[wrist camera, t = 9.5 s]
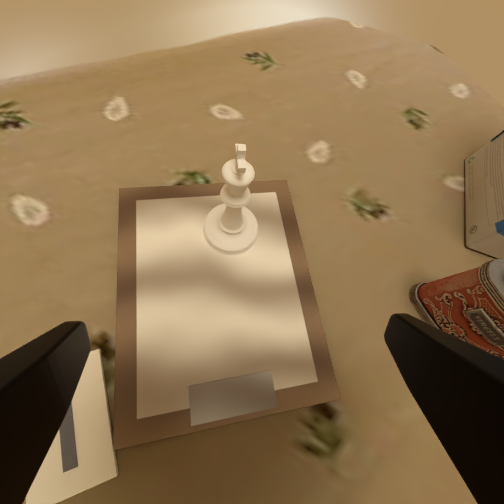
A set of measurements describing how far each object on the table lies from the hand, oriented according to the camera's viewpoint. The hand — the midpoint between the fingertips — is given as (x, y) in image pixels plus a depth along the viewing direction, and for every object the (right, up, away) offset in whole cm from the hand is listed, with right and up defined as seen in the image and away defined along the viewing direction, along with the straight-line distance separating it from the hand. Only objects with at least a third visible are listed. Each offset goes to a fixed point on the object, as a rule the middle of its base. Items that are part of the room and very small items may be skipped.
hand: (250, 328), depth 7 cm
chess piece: (-2, +4, +15) cm, 16 cm away
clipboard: (-3, -1, +14) cm, 14 cm away
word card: (-12, -9, +9) cm, 18 cm away
